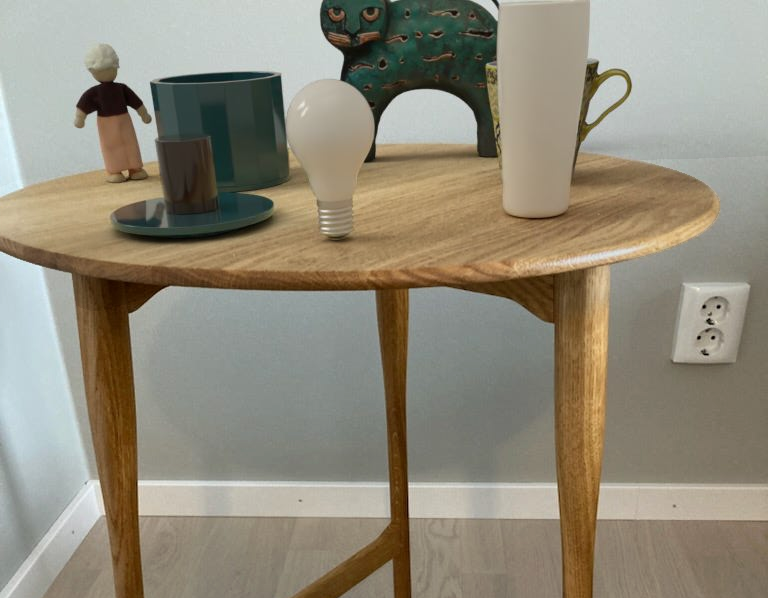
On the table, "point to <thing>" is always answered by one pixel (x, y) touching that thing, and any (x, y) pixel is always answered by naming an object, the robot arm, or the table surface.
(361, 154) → the lightbulb
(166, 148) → the lid
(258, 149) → the tin
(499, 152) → the ceramic cup
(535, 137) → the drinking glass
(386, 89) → the ceramic cat
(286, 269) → the table surface
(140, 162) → the grandmother figurine
